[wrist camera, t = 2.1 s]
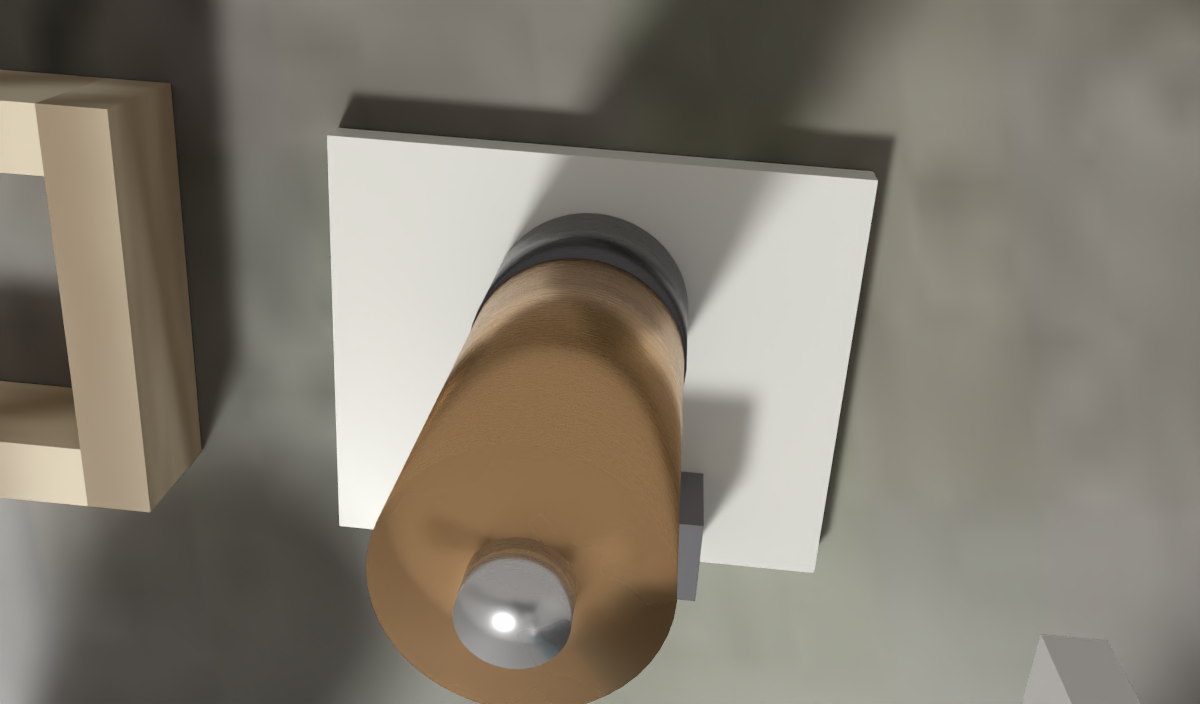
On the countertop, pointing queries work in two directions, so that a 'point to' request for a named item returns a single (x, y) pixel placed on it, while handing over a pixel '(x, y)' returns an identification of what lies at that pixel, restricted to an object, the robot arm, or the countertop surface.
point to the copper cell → (546, 478)
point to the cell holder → (104, 295)
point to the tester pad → (715, 312)
